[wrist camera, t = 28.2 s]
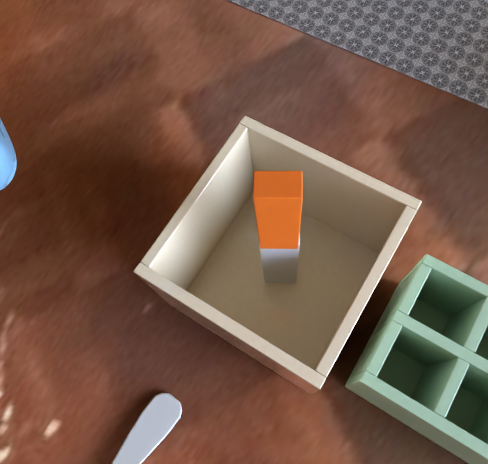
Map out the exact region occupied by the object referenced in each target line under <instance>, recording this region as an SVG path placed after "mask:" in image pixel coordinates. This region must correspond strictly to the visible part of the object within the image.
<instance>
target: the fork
mask: <svg viewBox="0 0 488 464" xmlns="http://www.w3.org/2000/svg"><path fill="white" fill-rule="evenodd" d="M181 414H182V407H181V404H180V402H179V401H178V400H177V399H176V398H174V397H173V396H172V395H171V394H170V393H160V394H158V395H155V396H154V398H153V399H152V400H151V401H150V403H149V404H148V405H147V406H146V408H145V409H144V410H143V411H142V413H141V414H140V416H139V418H138V419H137V421H136V423H135V424H134V426H133V427H132V429H131V431H130V432H129V434H128V436H127V437H126V439H125V441H124V442H123V444H122V446H121V448H120V449H119V451H118V453H117V455H116V456H115V458H114V460H113V462H112V463H111V464H141V463H142V462H143V461H144V460H145V459H146V458H147V457H148V456H149V455H150V454H151V452H152V451H153V450H154V449H155V448H156V447H157V446H158V445H159V444H160V442H161V441H162V440H163V439H164V438H165V437H166V436H167V435H168V433H169V432H170V431H171V429H172V428H173V427H174V425H175V424H176V423H177V421H178V420H179V419H180V418H181Z"/></svg>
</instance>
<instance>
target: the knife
mask: <svg viewBox="0 0 488 464" xmlns="http://www.w3.org/2000/svg"><path fill="white" fill-rule="evenodd" d="M302 201H303V172H302V171H254V178H253V202H254V209H255V216H256V222H257V229H258V236H259V248H260V255H261V262H262V268H263V275H264V281H265V282H266V283H296V277H297V267H298V257H299V247H300V223H301V212H302Z"/></svg>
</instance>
